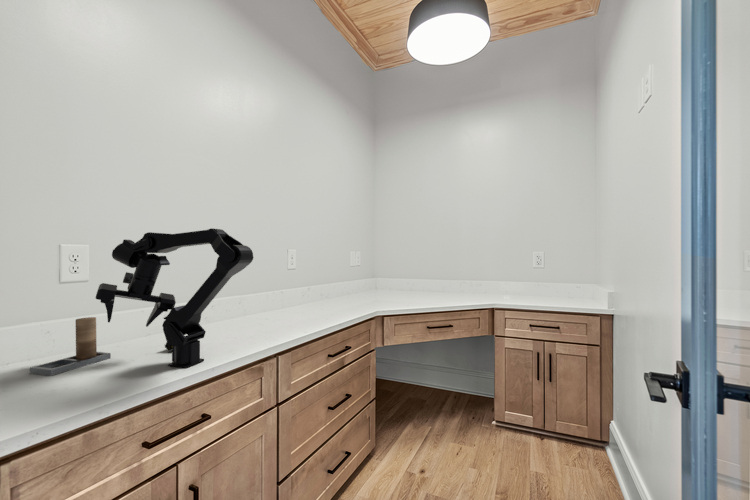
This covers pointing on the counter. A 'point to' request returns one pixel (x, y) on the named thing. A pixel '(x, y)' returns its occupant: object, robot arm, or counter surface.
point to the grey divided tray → (67, 364)
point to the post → (86, 338)
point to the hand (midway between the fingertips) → (128, 323)
